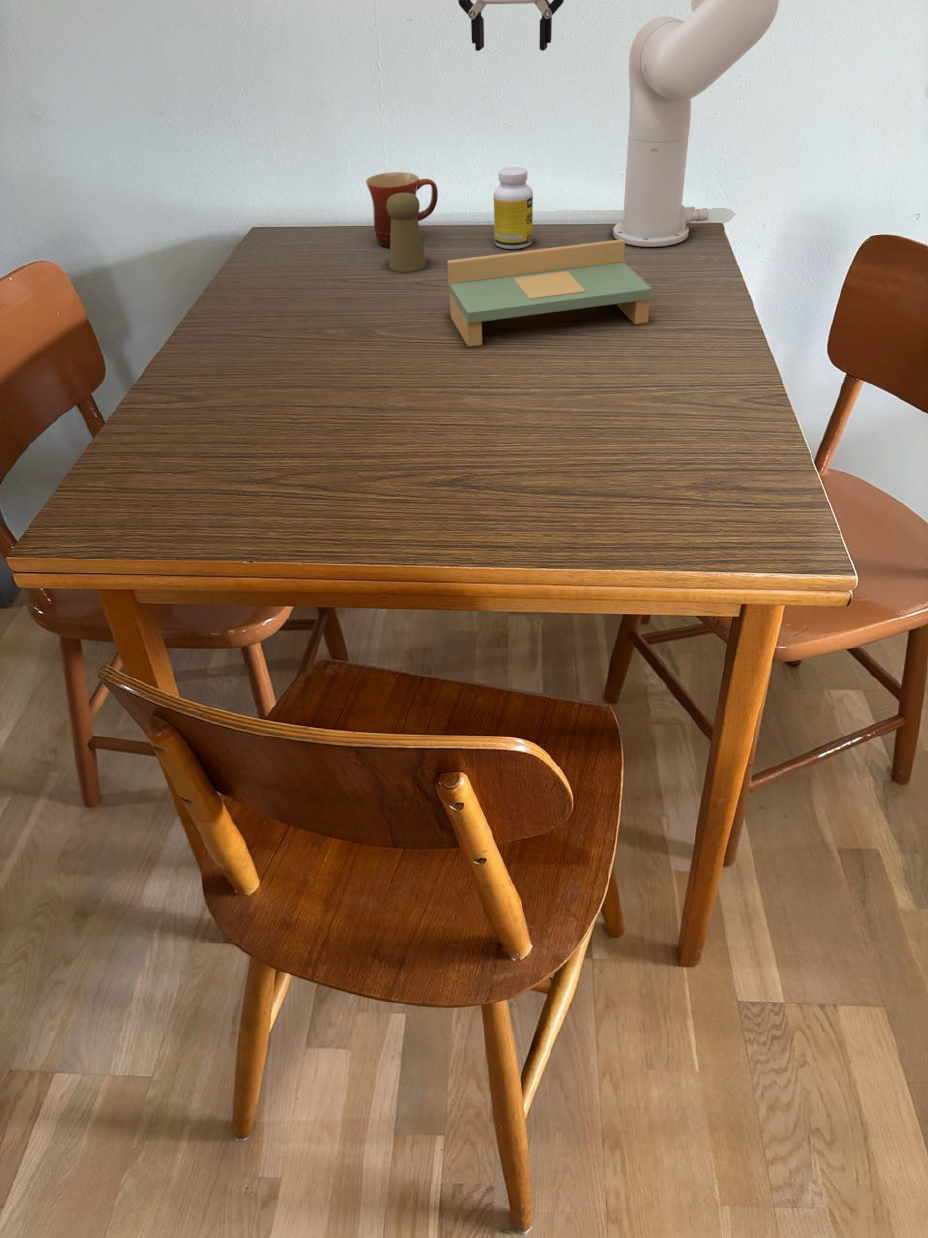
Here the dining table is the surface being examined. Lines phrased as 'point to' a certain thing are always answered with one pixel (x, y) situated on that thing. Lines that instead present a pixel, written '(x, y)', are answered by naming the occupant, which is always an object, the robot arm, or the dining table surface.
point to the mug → (387, 186)
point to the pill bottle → (513, 209)
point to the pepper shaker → (405, 233)
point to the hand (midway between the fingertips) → (511, 48)
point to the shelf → (543, 285)
